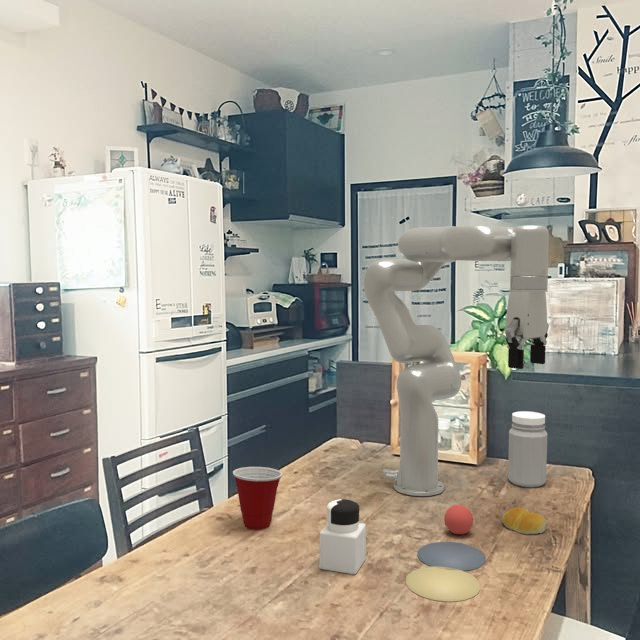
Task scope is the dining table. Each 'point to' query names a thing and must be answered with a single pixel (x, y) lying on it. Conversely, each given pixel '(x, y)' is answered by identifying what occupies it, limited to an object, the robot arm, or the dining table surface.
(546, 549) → the dining table surface
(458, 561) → the smooth gray rounded object
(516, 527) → the bread roll
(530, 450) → the jar
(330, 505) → the medicine bottle
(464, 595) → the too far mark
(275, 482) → the plastic cup
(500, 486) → the dining table surface
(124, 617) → the dining table surface
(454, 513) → the ball
